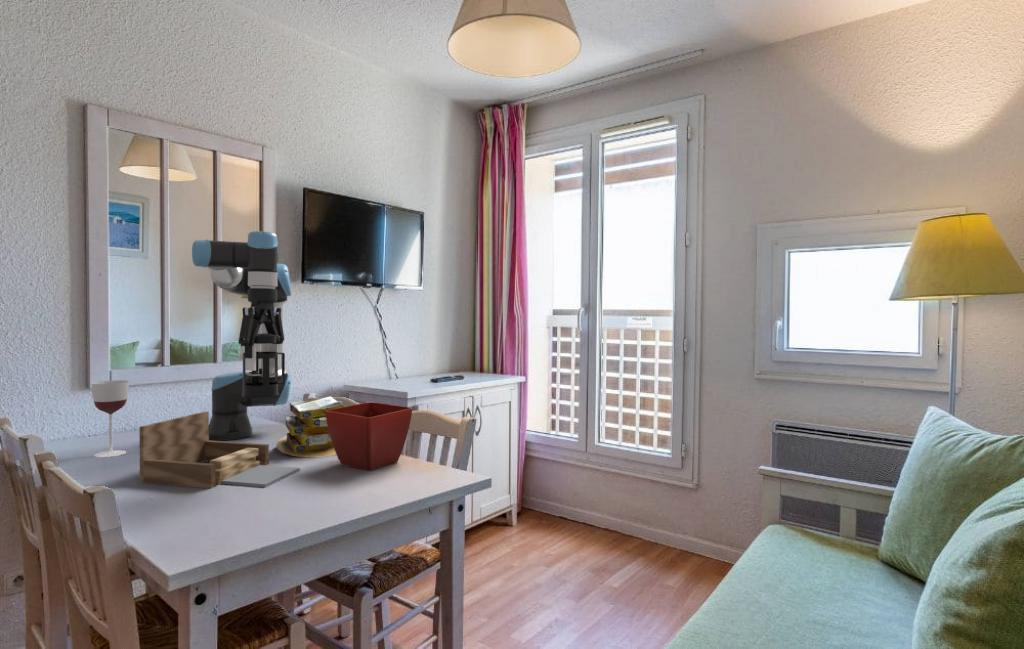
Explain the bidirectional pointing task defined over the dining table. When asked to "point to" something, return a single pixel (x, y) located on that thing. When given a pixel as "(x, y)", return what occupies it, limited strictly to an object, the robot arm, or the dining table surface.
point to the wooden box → (185, 452)
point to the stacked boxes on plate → (309, 429)
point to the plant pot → (368, 433)
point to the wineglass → (110, 405)
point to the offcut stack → (234, 464)
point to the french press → (265, 387)
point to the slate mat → (261, 476)
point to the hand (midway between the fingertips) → (262, 368)
